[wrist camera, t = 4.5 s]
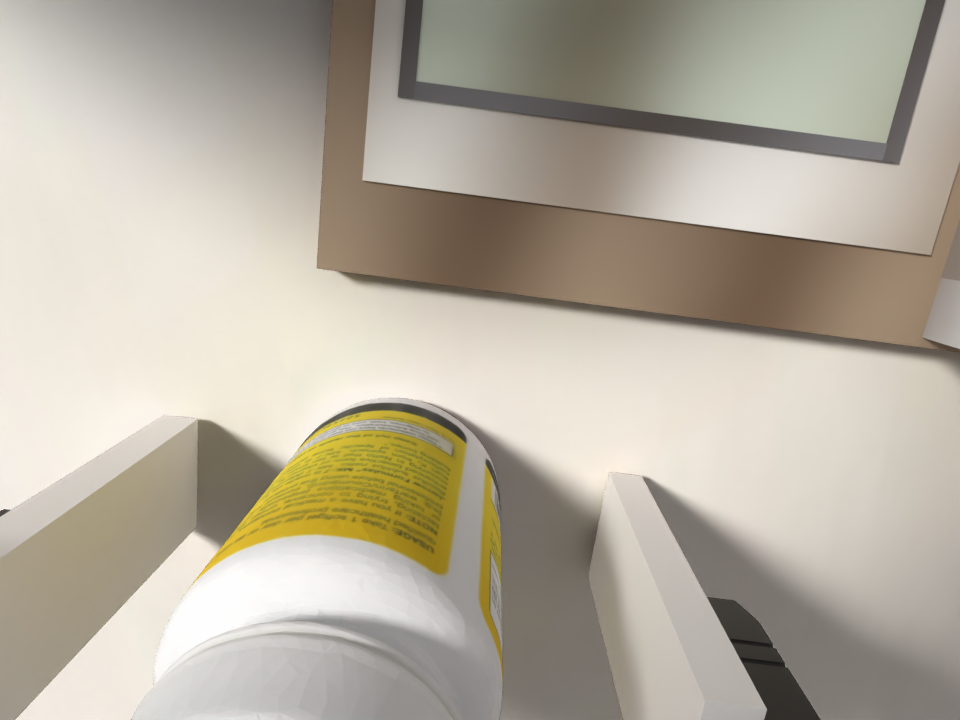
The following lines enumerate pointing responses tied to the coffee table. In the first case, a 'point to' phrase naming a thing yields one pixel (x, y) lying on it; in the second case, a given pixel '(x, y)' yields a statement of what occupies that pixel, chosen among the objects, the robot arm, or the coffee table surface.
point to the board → (656, 156)
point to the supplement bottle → (350, 584)
